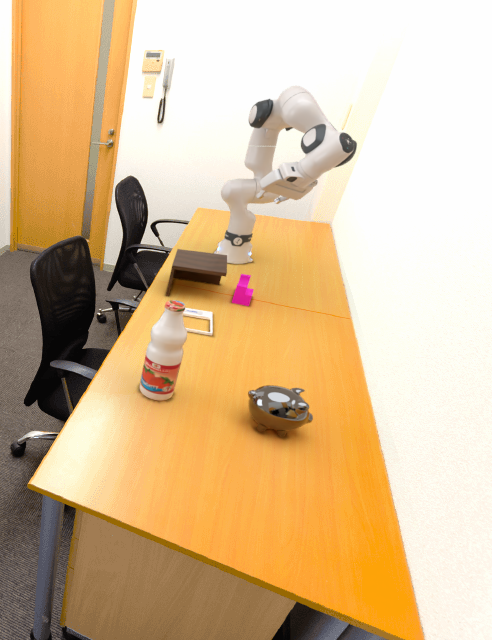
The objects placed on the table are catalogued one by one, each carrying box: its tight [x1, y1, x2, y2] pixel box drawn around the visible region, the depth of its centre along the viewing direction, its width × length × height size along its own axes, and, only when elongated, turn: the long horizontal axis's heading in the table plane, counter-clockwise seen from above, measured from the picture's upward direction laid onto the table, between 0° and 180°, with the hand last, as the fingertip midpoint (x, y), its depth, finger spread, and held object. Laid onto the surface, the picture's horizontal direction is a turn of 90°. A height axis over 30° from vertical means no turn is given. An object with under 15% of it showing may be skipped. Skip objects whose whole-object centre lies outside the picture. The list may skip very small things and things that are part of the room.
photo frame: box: [183, 307, 214, 336], centre depth 159 cm, size 15×1×18 cm
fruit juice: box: [139, 299, 188, 401], centre depth 116 cm, size 9×9×28 cm
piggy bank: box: [247, 384, 314, 437], centre depth 107 cm, size 11×15×12 cm
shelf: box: [165, 248, 228, 297], centre depth 181 cm, size 23×20×14 cm
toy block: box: [231, 273, 255, 307], centre depth 175 cm, size 15×6×8 cm, turn 148°
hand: (266, 199), depth 164 cm, fingers open, 8 cm apart
